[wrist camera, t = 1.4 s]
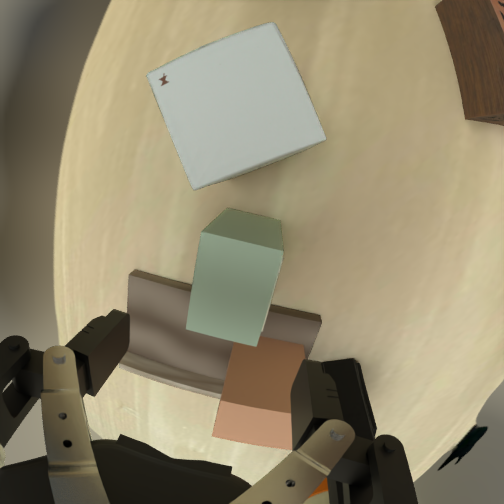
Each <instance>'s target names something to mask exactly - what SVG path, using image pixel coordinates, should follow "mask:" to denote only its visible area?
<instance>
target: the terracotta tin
mask: <svg viewBox="0 0 504 504" xmlns="http://www.w3.org/2000/svg"><path fill="white" fill-rule="evenodd" d="M304 359H305V352H304V345H302V344H297V343H292V342H287V341H282V340H277V339H272V338H267V337H263V336H260V337H259V340H258V344H257V347H255V346H251V345H246V344H242V343H238V342H234V344H233V348H232V352H231V356H230V360H229V364H228V368H227V373H226V377H225V381H224V386H223V390H222V394H221V399H220V403H219V407H218V412H217V416H216V420H215V425H214V429H213V433H212V436H213V437H217V438H222V439H226V440H231V441H236V442H241V443H247V444H252V445H258V446H265V447H272V448H280V449H288V450H292V425H291V400H290V393H291V388H292V384H293V382H294V380H295V377H296V375H297V372H298V370H299V368H300V365H301V363H302V361H303V360H304Z"/></svg>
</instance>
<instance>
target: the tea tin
mask: <svg viewBox="0 0 504 504" xmlns="http://www.w3.org/2000/svg"><path fill="white" fill-rule="evenodd" d="M283 252H284V249H283V240H282V231H281V222H280V220H277V219H273V218H269V217H264V216H260V215H256V214H252V213H248V212H243V211H239V210H235V209H230V208H227V209H225V210H224V211H223V212H222V213H221V214H220V215H219V216H218V217H217V218H216V219H214V220H213V221H212V222H211V223H210V224H209V225H208V226H207V227H206V228H205V229H204V230H203V231H201V236H200V242H199V247H198V253H197V259H196V265H195V271H194V277H193V283H192V290H191V296H190V303H189V309H188V316H187V323H186V329H187V330H191V331H194V332H198V333H202V334H205V335H209V336H213V337H217V338H221V339H225V340H229V341H233V342H238V343H242V344H246V345H251V346H255V347H257V344H258V340H259V337H260V334H261V331H262V332H263V328H264V325H265V321H266V318H267V315H268V311H269V308H270V304H271V301H272V297H273V294H274V290H275V287H276V283H277V280H278V276H279V272H280V269H281V265H282V262H283Z"/></svg>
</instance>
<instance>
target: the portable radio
mask: <svg viewBox="0 0 504 504" xmlns="http://www.w3.org/2000/svg"><path fill="white" fill-rule="evenodd" d="M321 366H322V371H323V373H326V374H329V375H330V376H331V377H332V379H333V380H334V381H335V384H336V389H337V393H338V398H339V401H340V406H341V410H342V415H343V419H344V422H346V423H347V424H349V425H350V426H351V427H352V428H353V430H354V432H355V435H356V436H359V437H362V438H365V439H368V440H372V441H374V440H375V434H376V430H377V427H376V423H375V419H374V415H373V412H372V408H371V404H370V401H369V397H368V394H367V390H366V386H365V383H364V379H363V374H362V370H361V365H360V364H359V363H357V362H355V359H353V358H352V359H346V360H338V361H331V362H324V363H321ZM327 484H328V494H329V504H344V495H343V482H339V481H336V480H332V479H329V478H327Z"/></svg>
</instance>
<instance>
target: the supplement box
mask: <svg viewBox="0 0 504 504" xmlns="http://www.w3.org/2000/svg"><path fill="white" fill-rule="evenodd" d="M146 76H147V79H148V81H149V84H150V86H151V89H152V91H153V94H154V96H155V99H156V101H157V104H158V106H159V109H160V111H161V114H162V116H163V118H164V121H165V123H166V126H167V128H168V130H169V133H170V135H171V138H172V141H173V143H174V146H175V148H176V150H177V153H178V155H179V158H180V160H181V163H182V165H183V168H184V170H185V173H186V175H187V178H188V180H189V182H190V185H191V187H192V189H193V190H198V189H201V188H203V187H206V186H209V185H212V184H216V183H219V182H223V181H226V180H229V179H232V178H234V177H237V176H240V175H242V174H245V173H248V172H251V171H253V170H256V169H259V168H261V167H264V166H267V165H269V164H272V163H274V162H277V161H280V160H282V159H285V158H287V157H290V156H292V155H295V154H297V153H300V152H302V151H305V150H307V149H309V148H311V147H313V146H315V145H317V144H319V143H321V142H323V141H326V136H325V133H324V131H323V128H322V126H321V123H320V121H319V119H318V116H317V113H316V111H315V109H314V106H313V104H312V101H311V99H310V96H309V94H308V92H307V89H306V87H305V84H304V82H303V80H302V77H301V75H300V73H299V71H298V68H297V66H296V64H295V62H294V60H293V57H292V55H291V53H290V51H289V49H288V47H287V45H286V43H285V41H284V39H283V37H282V35H281V33H280V31H279V29H278V27H277V25H276V24H275V23H274V22H270V23H265V24H262V25H259V26H255V27H253V28H250V29H247V30H244V31H241V32H238V33H235V34H233V35H230V36H227V37H225V38H222V39H219V40H217V41H214V42H212V43H209V44H206V45H204V46H201V47H199V48H198V49H196V50H193V51H191V52H189V53H187V54H185V55H183V56H180V57H178V58H176V59H174V60H172V61H170V62H168V63H166V64H164V65H162V66H160V67H159V68H157V69H155V70H153V71H150V72H149V73H147V75H146Z"/></svg>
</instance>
